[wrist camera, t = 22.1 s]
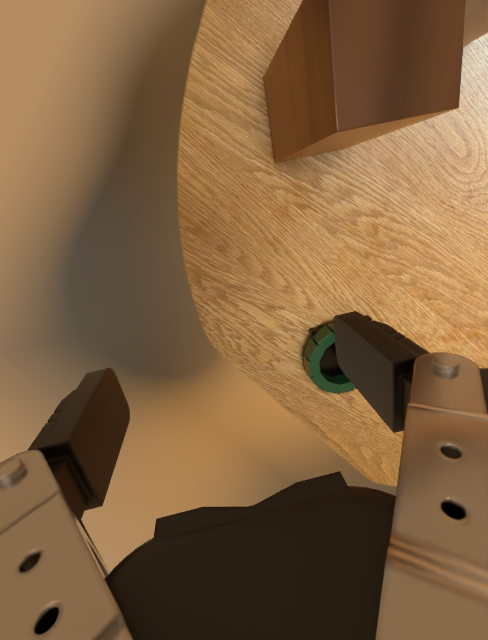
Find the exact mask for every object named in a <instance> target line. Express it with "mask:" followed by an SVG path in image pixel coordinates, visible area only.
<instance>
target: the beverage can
mask: <svg viewBox="0 0 488 640" xmlns="http://www.w3.org/2000/svg"><path fill="white" fill-rule="evenodd" d="M486 33H488V0H466V6H465V22H464V37H463V46H465V45H467V44H469V43H470V42H472V41H474V40H475V39H477V38H479V37H481V36H482V35H484V34H486Z"/></svg>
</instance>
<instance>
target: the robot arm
mask: <svg viewBox="0 0 488 640" xmlns="http://www.w3.org/2000/svg"><path fill="white" fill-rule="evenodd" d="M334 334H335V346H336V356H337V360H338V363H339V366H340V368H341V370H342V371H343V372H344V374H345V375H346V376H347V377H348V378H349V380H350V381H351V382H352V383H353V384H354V386H355V387H356V388H357V389H358V390H359V392H360V393H361V394H362V395H363V397H364V398H365V399H366V400H367V401H368V403H369V404H370V405H371V406H372V407H373V409H374V410H375V411H376V412H377V413H378V415H379V416H380V417H381V418H382V419H383V421H384V422H385V423H386V424H387V425H388V427H389V428H390V429H391V430H392V431H393V433H395V432H399V431H403V430H404V435H403V443H402V451H401V459H400V467H399V476H398V484H397V492H396V496H394V495H392V494H389V493H386V492H383V491H380V490H376V489H371V488H366V487H357V486H356V487H355V486H347V484H346V482H345V480H344V478H343V476H342V474H341V473H340V471H339V472H335V473H332V474H328V475H324V476H320V477H317V478H313V479H308V480H305V481H301V482H297V483H295V484H293V485H291V486H289V487H287V488H285V489H283V490H282V491H280V492H278V493H276V494H274V495H272V496H271V497H269V498H267V499H265V500H263V501H261V502H259V503H257V504H255V505H253V506H248V507H201V508H197V509H193V510H189V511H185V512H181V513H177V514H174V515H170V516H166V517H162V518H158V519H156V526H155V532H154V538H152V539H150V540H148V541H147V542H146V543H144V544H143V545H141V546H139V547H138V548H136V549H135V550H134V551H133V552H132V553H130V554H129V555H128V556H127V557H125V558H124V559H123V560H122V561H121V562H120V563H119V564H118V565H117V566H116V567H115V568H114V569H113V570H112V571H111V572H109V570H108V569H107V566H106V565H105V563H104V561H103V559H102V557H101V555H100V553H99V551H98V550H97V548H96V546H95V544H94V542H93V540H92V538H91V537H90V534H89V533H88V531H87V529H86V527H85V525H84V524H83V522H82V520H81V518H82V516H83V513H84V511H85V510H88V509H93V508H96V507H100V506H102V505H103V502H104V499H105V496H106V493H107V490H108V487H109V484H110V480H111V477H112V474H113V471H114V468H115V465H116V462H117V459H118V455H119V452H120V449H121V446H122V443H123V440H124V436H125V433H126V430H127V427H128V424H129V420H130V411H129V406H128V403H127V401H126V398H125V396H124V393H123V391H122V389H121V386H120V384H119V381H118V379H117V376H116V375H115V372H114V371H113V369H111V368H106V369H102V370H98V371H93V372H89V373H87V374H86V375H85V377H84V378H83V380H82V382H81V383H80V385H79V386H78V388H77V389H76V390H74V391H73V392H71V393H70V394H69V395H68V396H67V397H66V398H65V399H63V400H62V401H61V402H60V404H59V405H58V407H57V408H56V410H55V411H54V414H52V415H51V417H50V418H49V420H48V423H46V424H45V426H44V427H43V428H42V430H41V431H40V433H39V435H38V436H37V437H36V439H35V440H34V442H33V443H32V444H31V446H30V448H29V449H28V450H27V451H25V452H21V453H19V454H16V455H14V456H12V457H10V458H8V459H6V460H5V461H3V462H1V463H0V640H488V368H484V369H479V367H478V366H477V365H476V364H475V363H474V362H473V361H471V360H470V359H468V358H465V357H463V356H460V355H456V354H451V353H429V352H428V351H426V350H425V349H423V348H422V347H420V346H419V345H417V344H416V343H414V342H413V341H411V340H410V339H408V338H405V336H404V335H402V334H401V333H399V332H398V333H397V331H396V330H395V329H393V328H392V327H390V326H389V325H387V324H384V323H380V322H377V321H370V320H368V319H367V318H365V317H364V316H363V315H361V314H360V313H358V312H357V311H354V312H350V313H345V314H341V315H337V316H335V317H334Z"/></svg>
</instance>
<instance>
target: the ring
mask: <svg viewBox="0 0 488 640" xmlns="http://www.w3.org/2000/svg"><path fill="white" fill-rule="evenodd" d="M327 326H328V327H327ZM327 326H326V325H325V326H324V327H323V328H321V329H320V330H319V331H318V332H316V333H315V334H314V335H313V336H312V337H313V339H312V338H310V340H309V342H308V344H307V346H306V349H305V351H304V355H303V357H304V366H305V370H306V372H307V374H308V375H309V377H310V379H311V380H312V381H313V382H314V383H315V384H316V385H317V386H318V388H319V389H321V390H323V391H327V392H331V393H335V394H336V393H338V394H340V393H344V392H348V391H353V390H354V388H355V389H357V388H356V387H355V386H354V384H353V383H352V382H351V381H350V380H349V378H348V377H347V376H346V375H345V374H340V375H336V376H330V375H326V374H323V373H321V371H320V362H319V361H320V359H321V357H322V355H323V353H324V351H325V349H327V348H328V347H329V346H331V345H332V344H333V343H334V342H335V334H334V323H332V324H328V325H327Z"/></svg>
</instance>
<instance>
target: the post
mask: <svg viewBox="0 0 488 640" xmlns="http://www.w3.org/2000/svg"><path fill="white" fill-rule="evenodd" d="M364 317H365V318H367V319H368V320H370V321H372V320H371V317H369V316H368V315H366V316H364ZM324 326H325V325H324ZM324 326H319V327H315V328H311V329H309V335H310V338H312V339H313V337H312V336H313V335H314V334H315V333H316V332H318V331H319V330H320V329H321V328H323V327H324ZM326 326H327V325H326ZM327 327H328V326H327ZM319 362H320V371H321V373H323V374H326V375H330V376H336V375H340V374H344V372H343V371H342V370H341V368H340V366H339V363H338V360H337V356H336V346H335V342H334V343H333V344H332V345H331V346H329V347H328V348H327V349H325V351H324V353H323V355H322V357H321V359H320V361H319Z"/></svg>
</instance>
